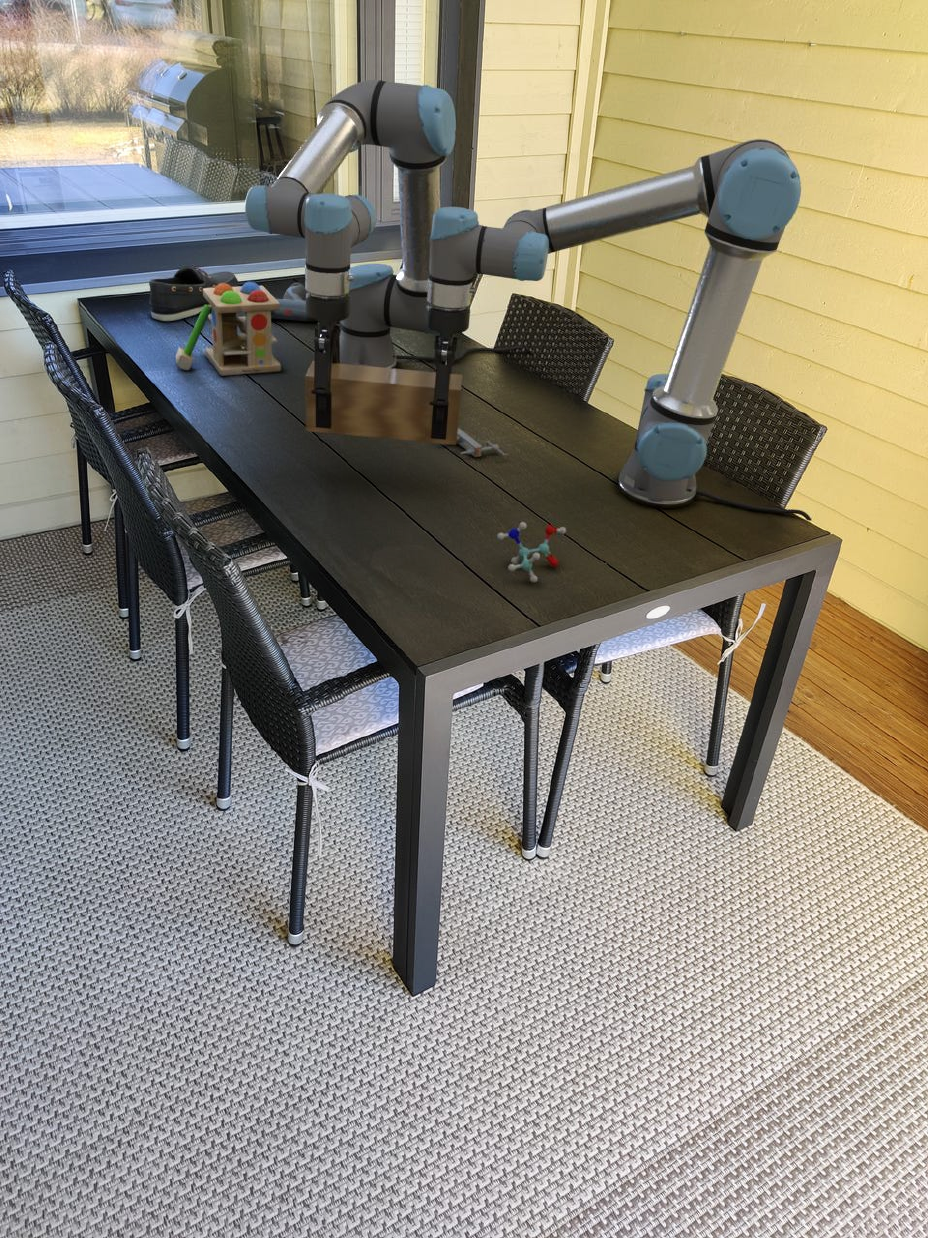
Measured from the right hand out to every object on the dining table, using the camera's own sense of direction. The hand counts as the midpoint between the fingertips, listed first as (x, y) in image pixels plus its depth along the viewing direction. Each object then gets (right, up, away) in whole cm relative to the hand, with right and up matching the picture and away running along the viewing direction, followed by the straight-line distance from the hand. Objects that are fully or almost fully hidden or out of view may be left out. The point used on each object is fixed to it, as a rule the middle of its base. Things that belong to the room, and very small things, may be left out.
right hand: (439, 428), depth 181 cm
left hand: (-21, +2, 0) cm, 21 cm away
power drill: (-39, +48, +86) cm, 106 cm away
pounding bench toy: (-52, +24, +49) cm, 76 cm away
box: (-10, 0, 0) cm, 10 cm away
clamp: (+5, 0, +21) cm, 22 cm away
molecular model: (+15, -27, -16) cm, 34 cm away
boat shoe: (-68, +49, +84) cm, 118 cm away
